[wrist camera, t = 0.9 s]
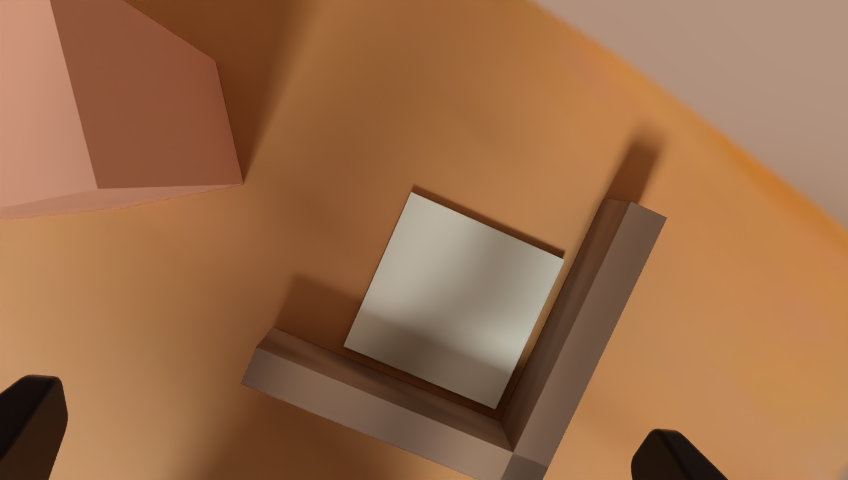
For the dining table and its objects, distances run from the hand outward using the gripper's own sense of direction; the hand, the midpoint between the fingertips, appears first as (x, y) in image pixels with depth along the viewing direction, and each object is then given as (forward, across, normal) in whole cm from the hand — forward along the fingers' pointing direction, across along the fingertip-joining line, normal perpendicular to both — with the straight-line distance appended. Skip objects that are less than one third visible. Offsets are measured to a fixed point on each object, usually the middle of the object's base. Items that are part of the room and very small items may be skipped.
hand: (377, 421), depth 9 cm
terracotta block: (+17, +8, +5) cm, 19 cm away
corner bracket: (+13, -5, +8) cm, 16 cm away
